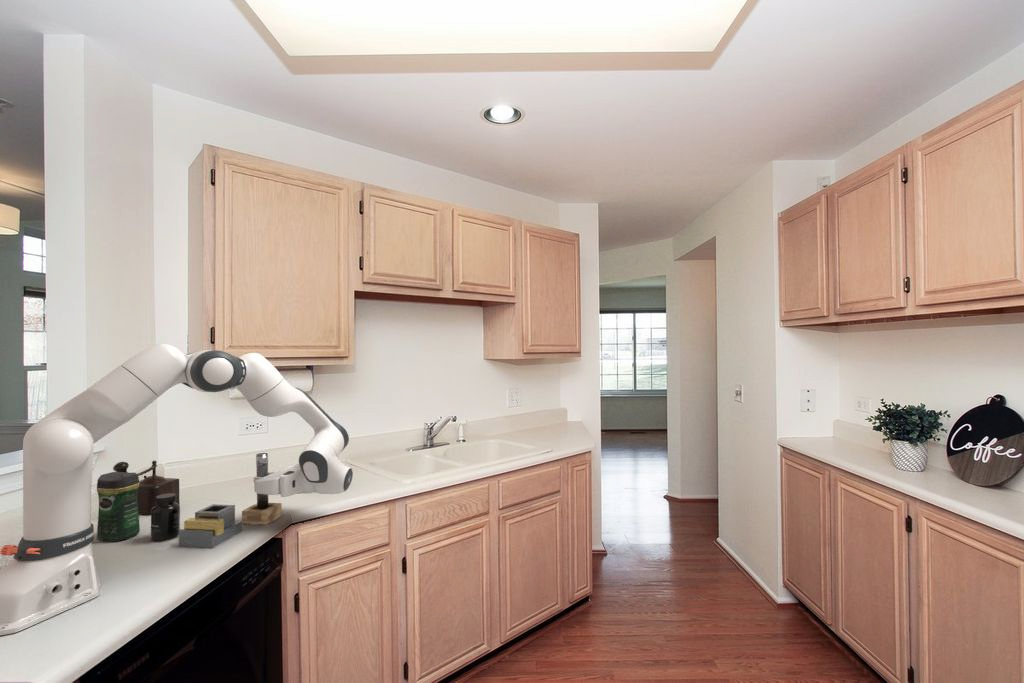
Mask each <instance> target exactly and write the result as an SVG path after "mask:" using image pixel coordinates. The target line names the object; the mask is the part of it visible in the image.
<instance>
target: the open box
mask: <svg viewBox="0 0 1024 683" xmlns="http://www.w3.org/2000/svg"><path fill="white" fill-rule="evenodd" d="M282 504H283V503H282V502H268V507H269V508H267V509H265V510H257V502H256V503H254V504H251V505H250V506H249V507H247V508H244V509H243V510H241V521H242V523H245V524H244V525H249V524H248V523H251V524H250V525H258V524H264V526H266V525H269V524H270V523H271V522H273V521H275V520H277V519H278V518H280V517H282V516H283V514H282V512H283V511H282V507H283V506H282ZM246 523H247V524H246Z"/></svg>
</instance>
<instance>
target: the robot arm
mask: <svg viewBox="0 0 1024 683" xmlns="http://www.w3.org/2000/svg"><path fill="white" fill-rule="evenodd" d="M180 384H183V385H185V386H186V387H188V388H191V389H194V390H196V391H199V392H201V393H218V392H225V391H226V390H228V389H232V388H235V389H236V390H237V391H239V392H240V394H241V395H242V396H243V397H244V398H245V400H246V401H247V402H248V404H249V405H250V406H251V407H252V409H253V410H254V411H255V412H256V413H257V414H259V415H260V416H263V417H267V418H269V417H270V418H277V417H279V416H282V415H285V414H288V413H292V412H293V413H296V414H298V415H299V416H300V417H301V418H302V419H303V421H305V422H306V423H307V424H308V426H310V427H311V428H312V429H313V431H314V436H313V437H312V439H311V440H310V441H309V442H308V443H307V445H306V446H305V448H304V449H303V450H302V452H301V453H300V455H299V457H298V463H296V464H290V465H288V466H286V467H283V468H281V469H279V470H276V471H268V475H267V476H265V477H262V476H257V475H256V476H255V477H253V483H254V484H253V486H254V487H253V488H254V490H253V491H254V493H256V494H257V493H258V494H266V495H268V496H269V495H271V496H277V495H278V496H280V497H281V498H287V497H290V496H294V495H300V494H301V495H302V494H312V493H316V494H321V495H334V494H335V495H336V494H341V493H345V492H346V491H347V490H348V489H349V487H350V486H351V483H352V480H353V476H354V472H353V468H352V467H350V466H347V465H346V464H344V463H342V462H341V461H340V460H339V456H340V455H341V453H342V452H343V451H344V450H345V448H346V447H347V446H348V445H349V441H350V436H349V434H348V432H347V429H346V428H345V427H343V425H341V424H340V423H339V422H337V421H335V420H334V419H333V418H332V417H331V416H330V415H329V414H328V413H327V412H326V411H325V410H324V409H323V408H322V407H321V406H320V405H319V404H318V403H317V402H316V401H315V400H314V399H313V398H312V397H311V396H310V395H309V394H308V393H307V392H305V391H304V390H302V389H301V388H298V387H294V386H292V385H291V384H290V383H289V382H288V381H287V380H286V379H285V378H284V377H283V375H282V374H281V372H279V370H278V369H277V368H276V367H275V366H274V364H272V362H270V361H269V360H268V359H267V358H265V357H264V355H262V354H260V353H258V352H249V353H244V354H243V355H242V354H241V355H240V356H239V357H238V356H235V355H232V354H231V353H228V352H226V351H223V350H215V349H205V350H199V351H195V352H194V351H193V352H191V353H190V352H189V353H183V352H182V351H181V350H180V349H179V348H178V347H177V346H174V345H172V344H168V343H163V342H161V343H157V344H154V345H152V346H150V347H148V348H146V349H144V350H142V351H140V352H139V353H137V354H134V355H133V356H131V358H129V359H127V360H125V361H124V362H122V363H121V364H120V365H119V366H117V367H116V368H114V369H113V370H112V371H110V372H109V373H107V374H105V376H103V377H102V378H101V379H99V380H98V381H96V382H95V383H94V384H92V385H91V386H89V387H88V388H87V389H85V390H84V391H82V392H80V393H79V394H77V395H76V396H74V397H73V398H71V399H70V400H68V401H67V402H65V403H63V404H62V405H61V406H59V407H58V408H55V409H54V410H53V411H51V412H50V413H48V414H46V416H44V417H42V418H41V419H39V420H38V421H37V422H36V423H34V424H32V425H31V426H30V427H29V428H28V429H27V430H26V433H25V434H24V436H23V441H22V510H23V511H22V522H23V523H22V527H23V528H22V536H21V538H20V540H19V542H18V545H14V544H13V545H11V544H5V545H3V546H2V547H1V548H0V555H1V556H9V557H10V556H13V559H12V560H11V561H10V562H9V563H8V564H7V565H6V566H5V567H4V568H3V569H2V570H1V571H0V636H4V635H10V634H15V633H18V632H20V631H23V630H25V629H27V628H30V627H32V626H34V625H36V624H39V623H41V622H43V621H45V620H47V619H50V618H52V617H55V616H57V615H60V614H61V613H64V612H66V611H68V610H70V609H72V608H75V607H77V606H79V605H82V604H84V603H86V602H88V601H91V600H93V599H95V598H97V597H99V596H100V588H101V585H102V582H101V580H100V577H99V575H98V571H97V567H96V564H95V562H96V561H95V557H94V552H93V542H94V540H95V530H94V528H95V527H94V523H92V482H93V470H94V469H93V468H94V467H93V466H94V463H93V462H94V445H95V444H96V443H97V442H98V441H100V440H101V439H102V438H104V437H106V436H107V435H109V434H110V433H111V432H113V431H115V430H116V429H118V428H119V427H121V426H123V425H125V424H127V423H128V422H129V421H131V420H132V419H134V417H136V416H137V415H138V414H140V413H141V412H142V411H143V410H145V409H146V408H147V407H149V405H152V403H154V402H155V401H156V400H157V399H158V398H159V397H161V396H162V395H163V394H165V393H166V392H167V391H168V390H169V389H171V388H173V387H175V386H176V385H180Z"/></svg>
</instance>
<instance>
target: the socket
mask: <svg viewBox="0 0 1024 683" xmlns="http://www.w3.org/2000/svg"><path fill="white" fill-rule="evenodd" d="M194 518H204V519H224V533H222V534H220V535H218V536H213V531H206V530H184V529H181V528H180V530H179V535H178V547H180V548H182V547H183V548H202V549H213V548H216V547H217V546H219V545H220V544H222V543H225V542H226V541H228V540H230V539H232V538H233V537H235V536H236V535H238V534H240V533H242V532H243V524H242V520H236V505H235V504H211V505H208V506H207V507H204V508H202V509H199V510H198V511H196V512H194ZM241 531H242V532H241ZM234 535H235V536H234Z"/></svg>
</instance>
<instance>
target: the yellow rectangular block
mask: <svg viewBox="0 0 1024 683" xmlns="http://www.w3.org/2000/svg"><path fill="white" fill-rule="evenodd" d="M183 526H184V527H183V530H206V531H213V536H218V535H220V534H222V533H224V519H204V518H195V517H191V518H188V519H186V520H184V521H183Z"/></svg>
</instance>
